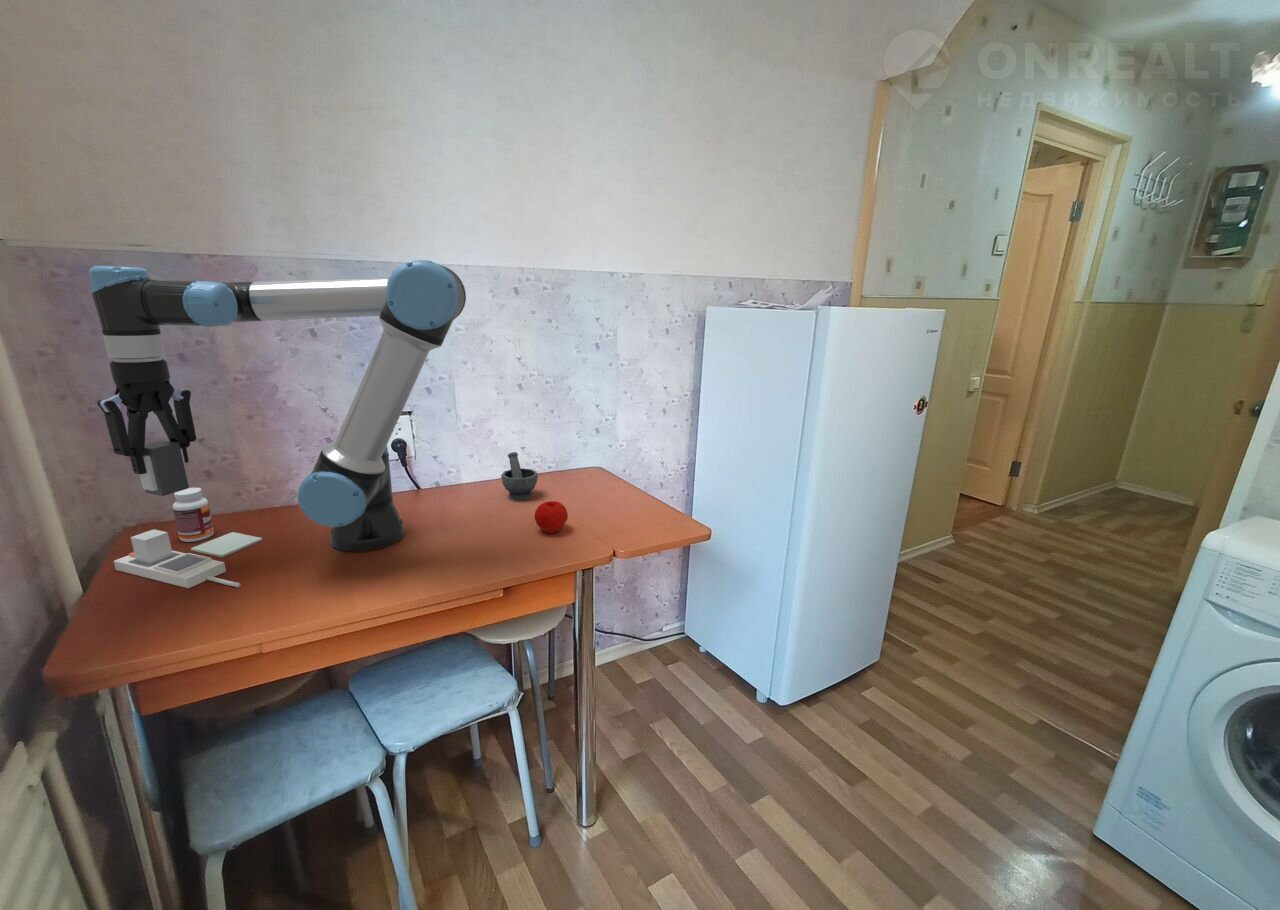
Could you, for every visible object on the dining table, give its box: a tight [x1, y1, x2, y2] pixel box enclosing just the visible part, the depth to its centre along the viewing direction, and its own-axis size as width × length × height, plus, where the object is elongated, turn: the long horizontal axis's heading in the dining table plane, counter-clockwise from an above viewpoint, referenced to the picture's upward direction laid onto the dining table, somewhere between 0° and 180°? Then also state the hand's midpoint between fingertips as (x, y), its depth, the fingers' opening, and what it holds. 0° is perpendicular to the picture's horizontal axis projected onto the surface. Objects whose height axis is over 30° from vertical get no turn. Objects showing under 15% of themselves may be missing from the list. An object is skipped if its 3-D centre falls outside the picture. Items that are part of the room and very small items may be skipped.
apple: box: [534, 500, 569, 534], centre depth 131 cm, size 8×8×7 cm
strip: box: [113, 528, 241, 589], centre depth 106 cm, size 28×7×7 cm, turn 72°
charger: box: [144, 439, 190, 497], centre depth 101 cm, size 4×5×9 cm
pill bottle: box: [172, 487, 215, 543], centre depth 121 cm, size 6×6×11 cm
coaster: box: [190, 531, 263, 558], centre depth 119 cm, size 9×9×1 cm
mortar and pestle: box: [501, 451, 539, 502], centre depth 152 cm, size 11×9×12 cm
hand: (166, 484), depth 101 cm, fingers closed on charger, 5 cm apart
